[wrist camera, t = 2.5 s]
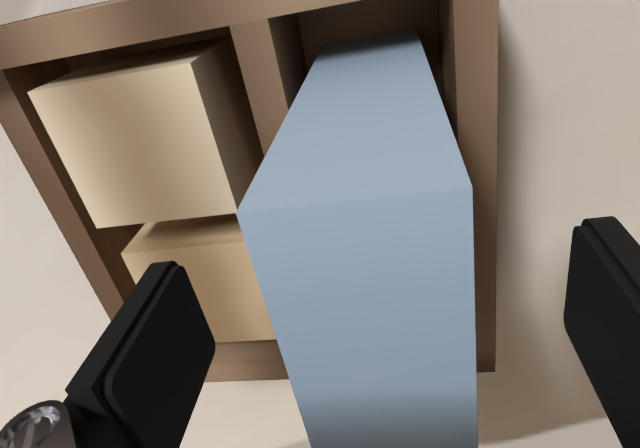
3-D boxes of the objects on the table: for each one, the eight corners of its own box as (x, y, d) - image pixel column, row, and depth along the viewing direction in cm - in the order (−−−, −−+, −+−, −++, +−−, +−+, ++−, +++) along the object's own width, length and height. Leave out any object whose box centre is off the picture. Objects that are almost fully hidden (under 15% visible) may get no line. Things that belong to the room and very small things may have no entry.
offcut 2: (273, 192, 19) (253, 240, 16) (297, 281, 21) (284, 338, 18) (159, 205, 20) (120, 253, 17) (194, 289, 22) (165, 345, 19)
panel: (415, 27, 15) (472, 186, 6) (433, 255, 19) (480, 552, 10) (323, 43, 15) (236, 212, 6) (361, 261, 20) (343, 548, 11)
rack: (463, -76, 14) (499, -79, 10) (472, 284, 21) (495, 371, 17) (37, 16, 17) (-76, 44, 13) (170, 305, 24) (126, 385, 20)
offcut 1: (231, 34, 16) (190, 63, 12) (265, 159, 18) (238, 213, 14) (99, 59, 16) (27, 92, 13) (147, 175, 19) (96, 228, 15)
